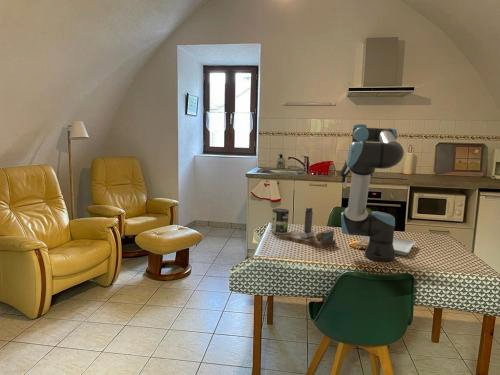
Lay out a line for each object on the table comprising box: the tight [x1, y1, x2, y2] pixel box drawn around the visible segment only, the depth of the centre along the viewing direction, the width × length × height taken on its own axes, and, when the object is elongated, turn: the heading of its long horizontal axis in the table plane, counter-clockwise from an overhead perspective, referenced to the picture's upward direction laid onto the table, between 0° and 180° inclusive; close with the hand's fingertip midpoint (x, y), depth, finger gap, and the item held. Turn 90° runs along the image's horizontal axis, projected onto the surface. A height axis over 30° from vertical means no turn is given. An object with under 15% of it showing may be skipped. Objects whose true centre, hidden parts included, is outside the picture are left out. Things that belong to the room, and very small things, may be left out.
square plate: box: [356, 236, 417, 256], centre depth 222 cm, size 27×27×4 cm
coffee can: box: [271, 208, 290, 235], centre depth 245 cm, size 10×10×14 cm
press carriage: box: [301, 207, 316, 239], centre depth 228 cm, size 4×9×17 cm, turn 142°
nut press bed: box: [280, 228, 337, 249], centre depth 228 cm, size 28×14×8 cm, turn 52°
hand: (354, 188), depth 227 cm, fingers open, 13 cm apart
